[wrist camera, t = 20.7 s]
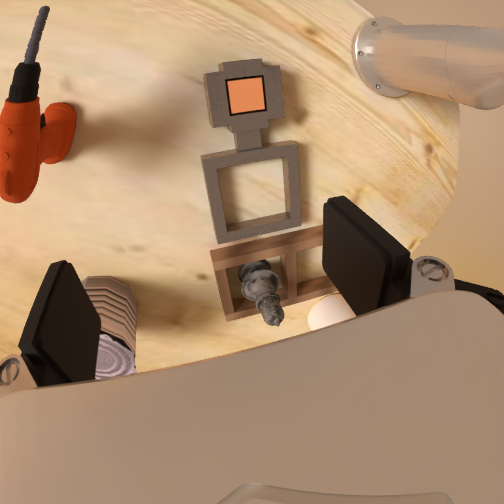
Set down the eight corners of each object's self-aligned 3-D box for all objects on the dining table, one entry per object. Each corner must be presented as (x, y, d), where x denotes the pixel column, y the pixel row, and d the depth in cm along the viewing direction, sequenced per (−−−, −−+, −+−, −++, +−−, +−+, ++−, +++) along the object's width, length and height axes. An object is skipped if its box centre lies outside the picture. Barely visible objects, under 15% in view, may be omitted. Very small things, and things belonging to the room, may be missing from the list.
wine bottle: (303, 303, 55) (381, 446, 30) (348, 284, 55) (438, 412, 31) (308, 333, 60) (373, 460, 36) (349, 316, 61) (422, 432, 37)
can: (141, 326, 48) (142, 384, 39) (80, 327, 45) (71, 383, 36) (133, 273, 42) (128, 332, 33) (64, 275, 39) (44, 332, 30)
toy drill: (107, 16, 22) (57, 3, 11) (71, 161, 32) (25, 228, 21) (70, 12, 20) (5, 5, 9) (39, 155, 30) (-16, 219, 19)
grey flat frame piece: (284, 57, 31) (293, 56, 29) (295, 219, 44) (303, 228, 42) (186, 69, 30) (187, 68, 27) (215, 237, 43) (219, 248, 40)
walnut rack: (349, 219, 47) (358, 227, 44) (344, 276, 54) (351, 286, 51) (209, 250, 44) (212, 262, 41) (223, 309, 50) (226, 321, 48)
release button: (255, 77, 32) (261, 77, 30) (258, 106, 34) (264, 109, 32) (223, 81, 31) (227, 81, 29) (227, 111, 33) (232, 113, 31)
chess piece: (230, 282, 48) (248, 338, 38) (246, 252, 45) (270, 305, 36) (261, 290, 50) (285, 343, 41) (279, 262, 48) (308, 313, 38)
